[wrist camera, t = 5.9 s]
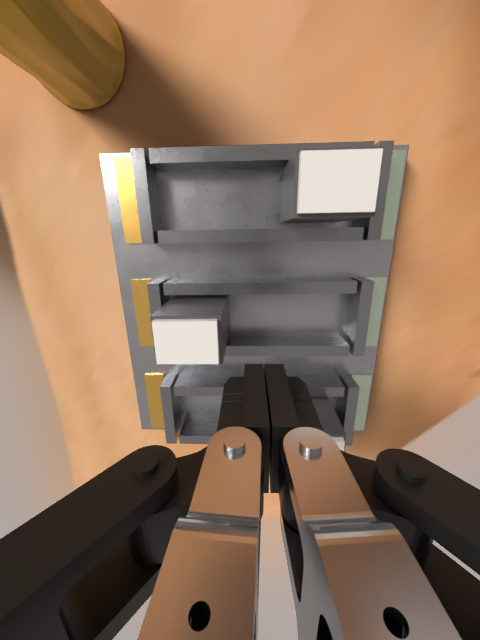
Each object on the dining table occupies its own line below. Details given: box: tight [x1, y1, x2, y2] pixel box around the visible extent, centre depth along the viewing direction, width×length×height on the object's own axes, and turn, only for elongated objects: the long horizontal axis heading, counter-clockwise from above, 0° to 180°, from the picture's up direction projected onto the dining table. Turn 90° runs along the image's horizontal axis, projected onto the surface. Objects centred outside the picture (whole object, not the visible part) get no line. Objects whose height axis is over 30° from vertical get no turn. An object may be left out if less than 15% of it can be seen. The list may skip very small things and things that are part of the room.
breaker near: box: [280, 146, 384, 223], centre depth 15 cm, size 3×4×6 cm
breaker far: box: [311, 396, 346, 451], centre depth 20 cm, size 3×4×6 cm
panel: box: [99, 141, 409, 445], centre depth 20 cm, size 22×20×4 cm
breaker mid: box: [150, 295, 229, 364], centre depth 18 cm, size 3×4×6 cm
